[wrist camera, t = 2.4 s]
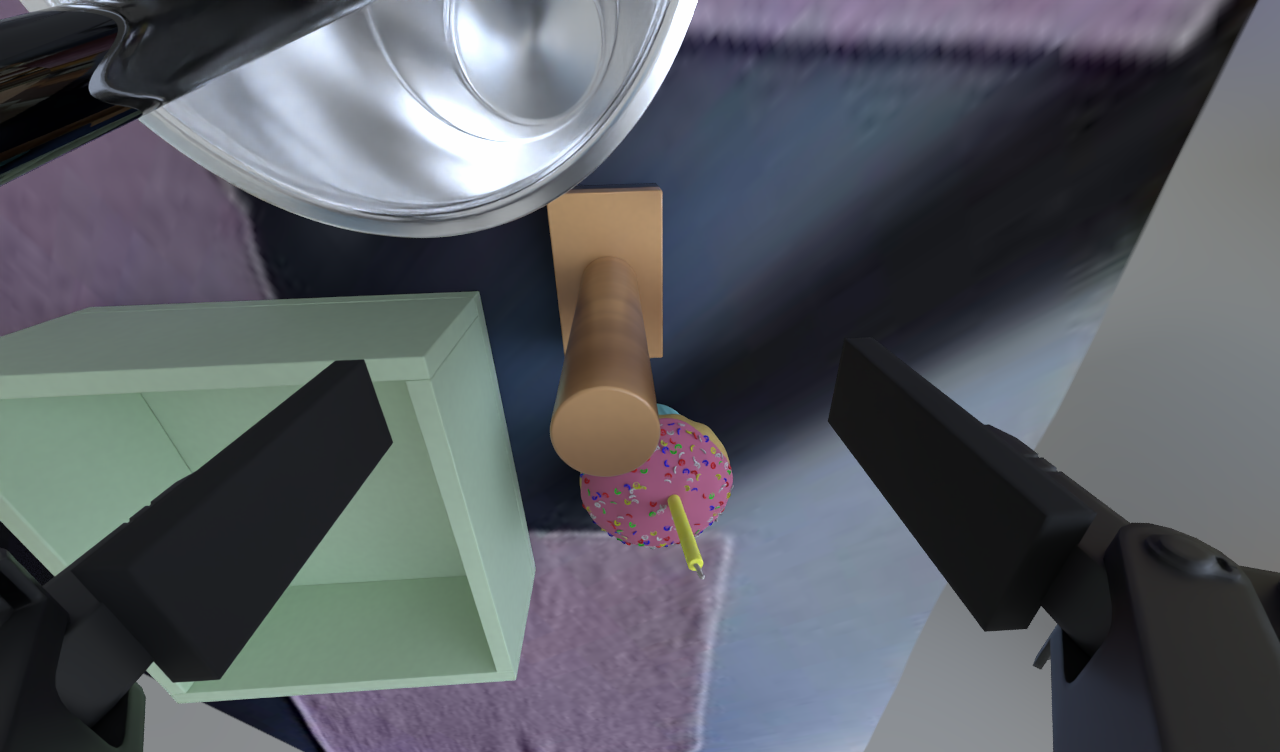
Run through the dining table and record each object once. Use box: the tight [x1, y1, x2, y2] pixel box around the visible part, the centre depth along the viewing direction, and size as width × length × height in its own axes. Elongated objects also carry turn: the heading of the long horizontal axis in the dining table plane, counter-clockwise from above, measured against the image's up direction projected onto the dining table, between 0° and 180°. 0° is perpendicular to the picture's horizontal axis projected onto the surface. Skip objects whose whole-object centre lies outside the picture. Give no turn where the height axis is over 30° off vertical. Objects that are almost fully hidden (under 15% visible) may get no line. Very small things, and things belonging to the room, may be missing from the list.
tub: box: [0, 291, 536, 703], centre depth 25 cm, size 22×20×8 cm
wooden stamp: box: [547, 183, 663, 477], centre depth 17 cm, size 8×5×15 cm, turn 1°
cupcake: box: [580, 404, 734, 579], centre depth 24 cm, size 9×8×12 cm
